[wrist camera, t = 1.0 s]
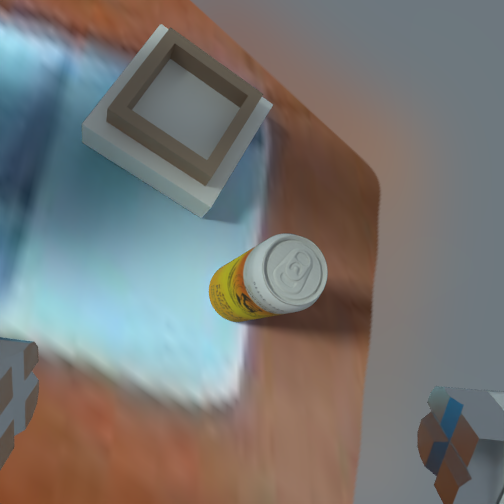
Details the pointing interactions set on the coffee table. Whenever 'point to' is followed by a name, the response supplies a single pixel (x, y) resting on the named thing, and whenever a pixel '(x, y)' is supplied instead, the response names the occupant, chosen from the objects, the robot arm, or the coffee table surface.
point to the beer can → (270, 279)
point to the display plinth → (177, 120)
